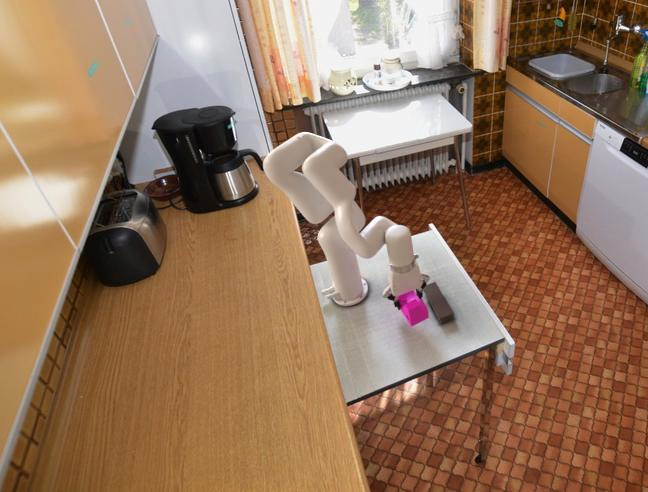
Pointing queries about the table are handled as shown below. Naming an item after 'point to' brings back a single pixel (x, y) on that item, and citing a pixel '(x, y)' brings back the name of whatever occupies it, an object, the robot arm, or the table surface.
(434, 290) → the brown rectangular block
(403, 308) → the toy block
